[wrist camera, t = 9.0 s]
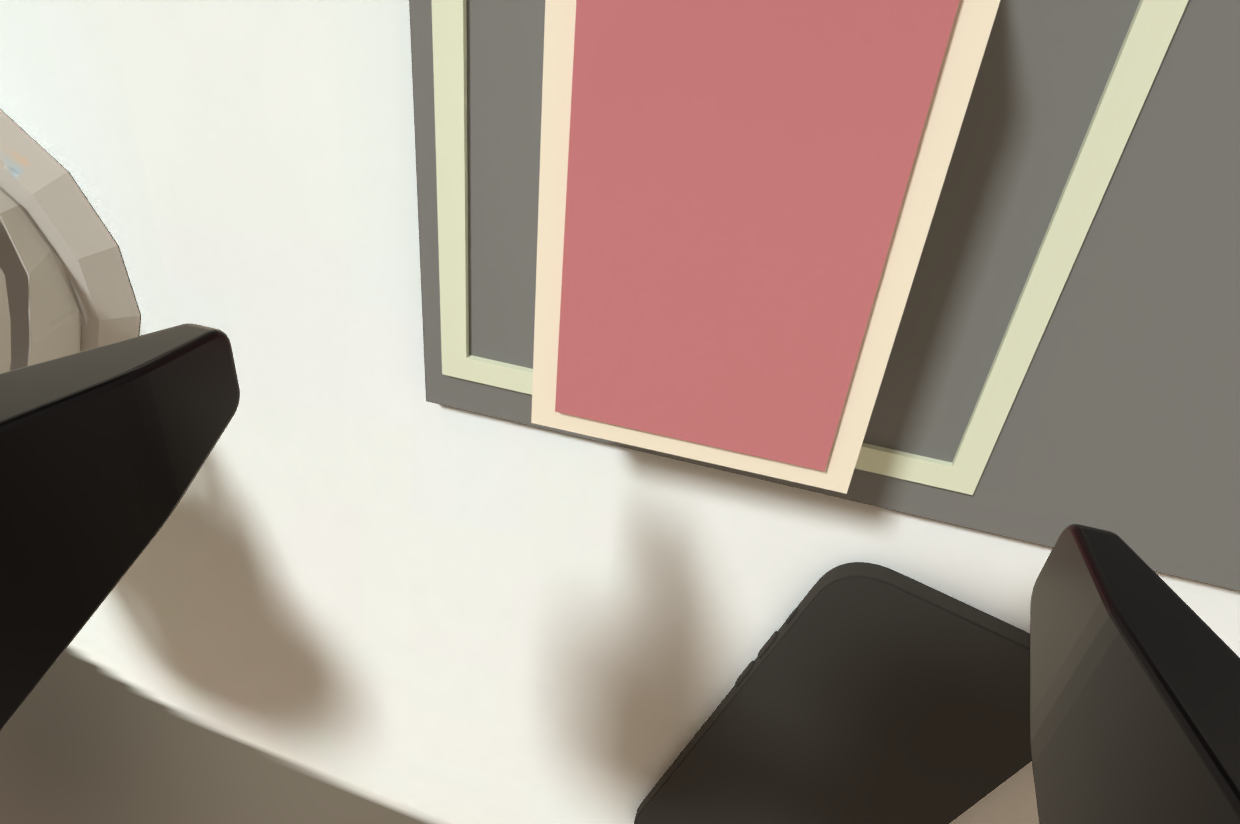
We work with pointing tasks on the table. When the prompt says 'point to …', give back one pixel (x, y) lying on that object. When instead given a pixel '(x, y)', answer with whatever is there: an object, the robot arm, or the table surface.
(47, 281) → the french press
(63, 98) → the table surface
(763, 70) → the card deck
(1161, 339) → the mat
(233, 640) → the table surface
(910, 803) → the phone
